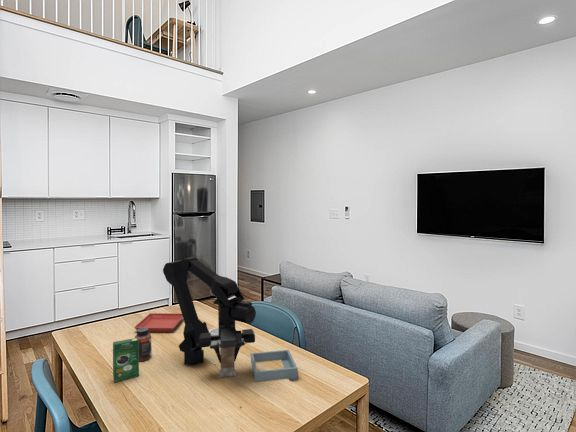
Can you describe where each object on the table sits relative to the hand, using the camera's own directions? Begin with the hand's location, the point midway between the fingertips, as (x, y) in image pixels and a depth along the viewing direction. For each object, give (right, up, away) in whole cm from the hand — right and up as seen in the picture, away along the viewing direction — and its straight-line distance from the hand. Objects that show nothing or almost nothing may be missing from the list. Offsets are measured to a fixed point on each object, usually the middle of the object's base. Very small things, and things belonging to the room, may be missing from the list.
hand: (227, 361), depth 124 cm
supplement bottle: (-34, -4, +14) cm, 37 cm away
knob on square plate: (0, -5, 0) cm, 5 cm away
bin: (+16, -5, +4) cm, 17 cm away
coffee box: (-34, -5, -1) cm, 35 cm away
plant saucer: (-39, -2, +46) cm, 61 cm away
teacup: (-7, -3, +26) cm, 28 cm away
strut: (0, -4, 0) cm, 4 cm away
